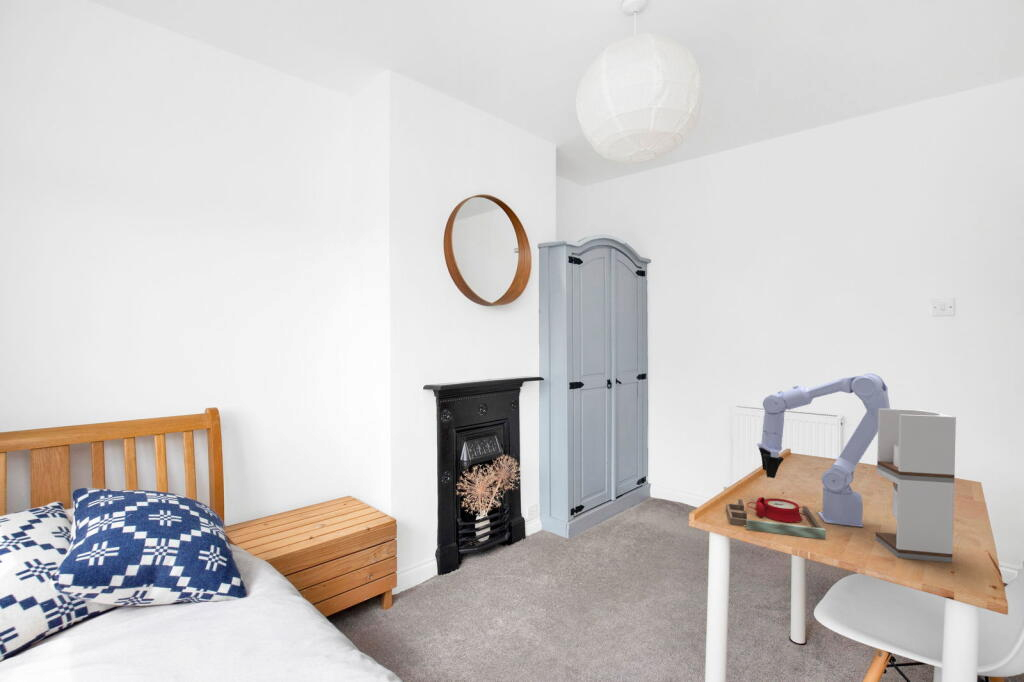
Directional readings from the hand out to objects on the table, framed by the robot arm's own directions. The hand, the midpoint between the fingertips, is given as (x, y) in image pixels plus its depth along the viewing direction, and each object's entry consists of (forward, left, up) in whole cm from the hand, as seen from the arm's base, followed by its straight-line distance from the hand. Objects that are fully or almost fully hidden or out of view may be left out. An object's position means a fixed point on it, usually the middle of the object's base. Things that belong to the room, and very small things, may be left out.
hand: (768, 473), depth 157 cm
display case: (-29, +25, -10) cm, 40 cm away
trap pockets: (+11, +16, -10) cm, 22 cm away
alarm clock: (0, +10, -10) cm, 14 cm away
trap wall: (0, +14, -10) cm, 17 cm away
